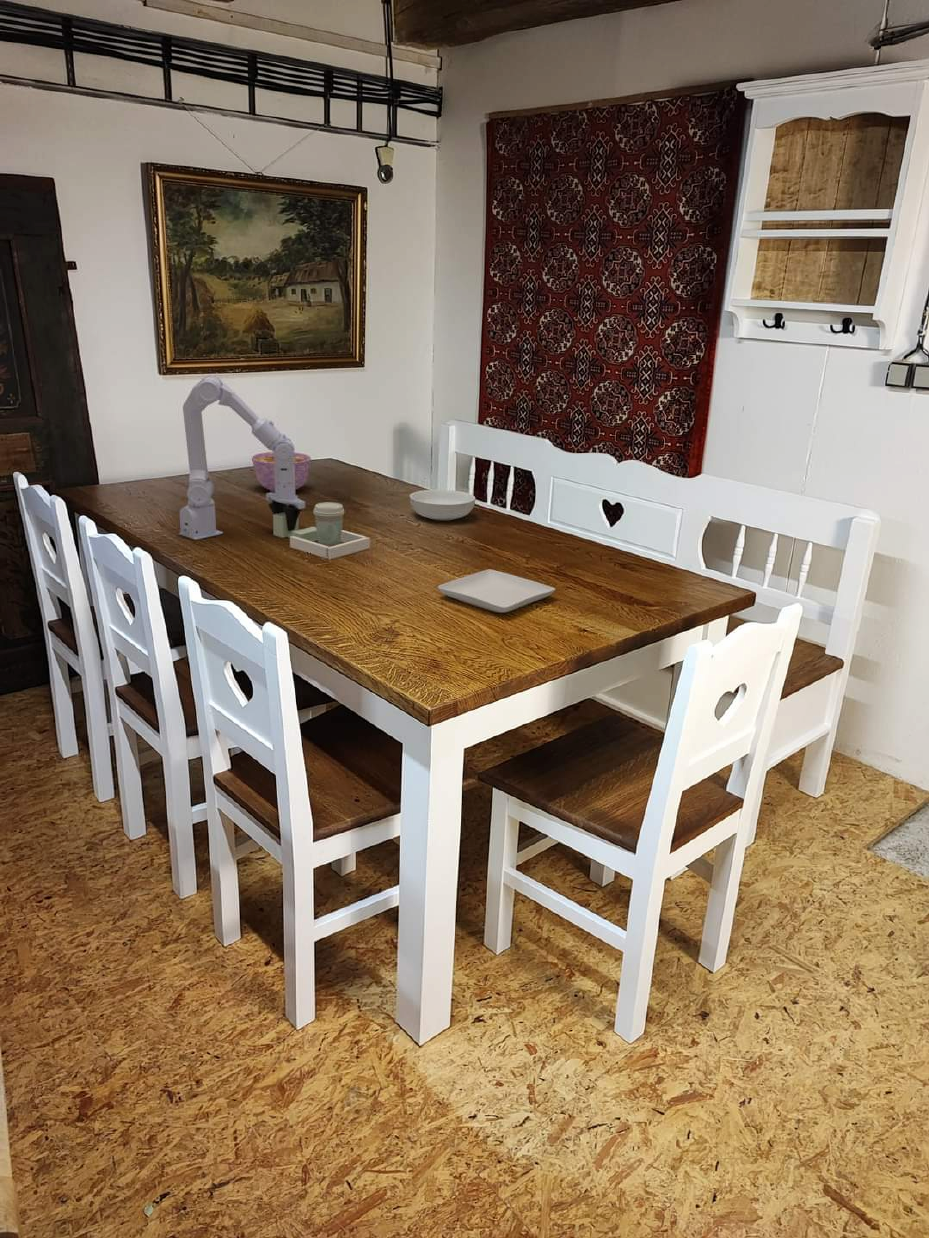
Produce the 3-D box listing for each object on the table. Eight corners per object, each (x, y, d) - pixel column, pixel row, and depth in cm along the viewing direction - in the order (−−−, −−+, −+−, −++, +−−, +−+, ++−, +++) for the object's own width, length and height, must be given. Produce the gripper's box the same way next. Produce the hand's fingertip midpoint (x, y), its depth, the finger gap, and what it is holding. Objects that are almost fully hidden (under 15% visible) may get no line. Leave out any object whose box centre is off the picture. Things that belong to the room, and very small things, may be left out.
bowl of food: (250, 484, 319) (248, 452, 315) (307, 483, 325) (306, 451, 320) (255, 498, 301) (254, 463, 297) (315, 496, 307) (315, 462, 303)
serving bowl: (477, 511, 298) (478, 491, 296) (471, 528, 279) (472, 506, 276) (414, 507, 300) (414, 486, 297) (404, 523, 280) (404, 501, 278)
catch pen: (329, 559, 242) (329, 548, 241) (290, 547, 251) (289, 536, 250) (369, 548, 254) (370, 537, 253) (330, 536, 263) (330, 526, 262)
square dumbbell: (300, 544, 254) (300, 524, 252) (270, 535, 261) (270, 515, 259) (321, 539, 260) (321, 519, 258) (292, 530, 267) (291, 510, 265)
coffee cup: (307, 548, 251) (306, 506, 247) (325, 541, 258) (325, 500, 254) (333, 553, 248) (332, 511, 243) (350, 546, 255) (350, 504, 250)
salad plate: (488, 579, 234) (489, 566, 233) (556, 600, 222) (557, 586, 220) (434, 598, 218) (434, 585, 217) (504, 622, 206) (505, 608, 205)
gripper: (312, 484, 256) (313, 530, 261) (278, 476, 265) (280, 521, 270) (293, 488, 251) (295, 535, 256) (259, 479, 259) (261, 525, 264)
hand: (286, 528), depth 262 cm, fingers closed on square dumbbell, 4 cm apart
